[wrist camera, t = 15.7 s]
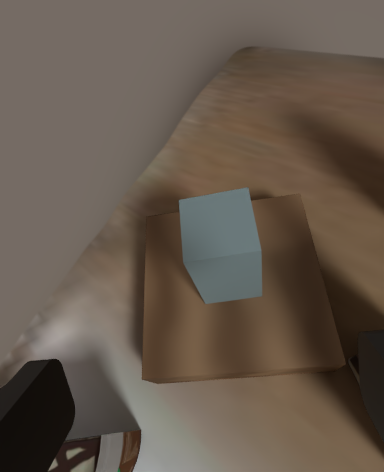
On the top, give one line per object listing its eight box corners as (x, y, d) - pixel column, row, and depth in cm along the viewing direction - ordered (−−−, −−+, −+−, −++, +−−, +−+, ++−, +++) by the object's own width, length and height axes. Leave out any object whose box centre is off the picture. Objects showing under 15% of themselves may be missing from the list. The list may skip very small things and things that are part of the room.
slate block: (252, 245, 30) (248, 187, 22) (262, 296, 27) (261, 250, 20) (200, 253, 31) (178, 200, 23) (205, 304, 28) (183, 262, 20)
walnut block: (295, 219, 36) (300, 193, 32) (333, 371, 28) (346, 364, 24) (159, 238, 38) (146, 216, 34) (158, 384, 30) (141, 379, 26)
